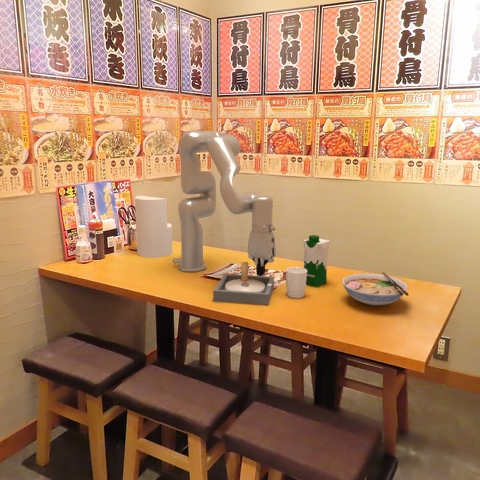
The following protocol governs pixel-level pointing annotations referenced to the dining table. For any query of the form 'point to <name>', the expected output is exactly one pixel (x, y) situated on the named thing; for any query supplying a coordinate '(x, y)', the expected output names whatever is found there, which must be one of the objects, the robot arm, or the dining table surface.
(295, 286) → the white cup
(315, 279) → the milk carton
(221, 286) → the dial housing
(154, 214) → the cylinder
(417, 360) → the dining table surface
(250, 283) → the dial
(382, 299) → the ramen bowl
